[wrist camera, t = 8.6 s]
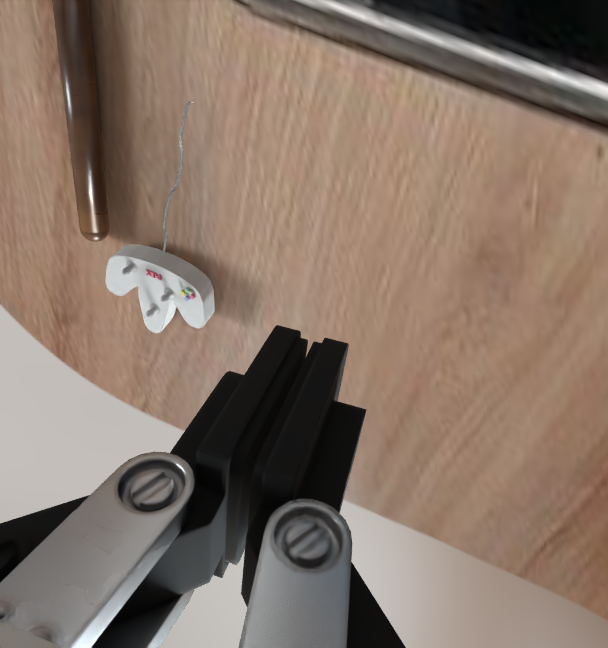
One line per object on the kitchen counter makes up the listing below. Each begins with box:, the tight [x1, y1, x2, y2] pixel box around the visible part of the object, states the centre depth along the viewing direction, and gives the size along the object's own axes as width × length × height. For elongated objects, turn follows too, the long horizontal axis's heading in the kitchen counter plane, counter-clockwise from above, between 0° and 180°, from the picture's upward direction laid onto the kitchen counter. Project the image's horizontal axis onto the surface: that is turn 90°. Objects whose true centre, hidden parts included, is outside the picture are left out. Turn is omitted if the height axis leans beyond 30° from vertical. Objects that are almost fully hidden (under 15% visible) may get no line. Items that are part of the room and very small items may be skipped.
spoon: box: [52, 0, 109, 242], centre depth 22 cm, size 17×5×1 cm, turn 173°
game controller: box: [106, 101, 215, 333], centre depth 24 cm, size 6×12×3 cm, turn 2°
